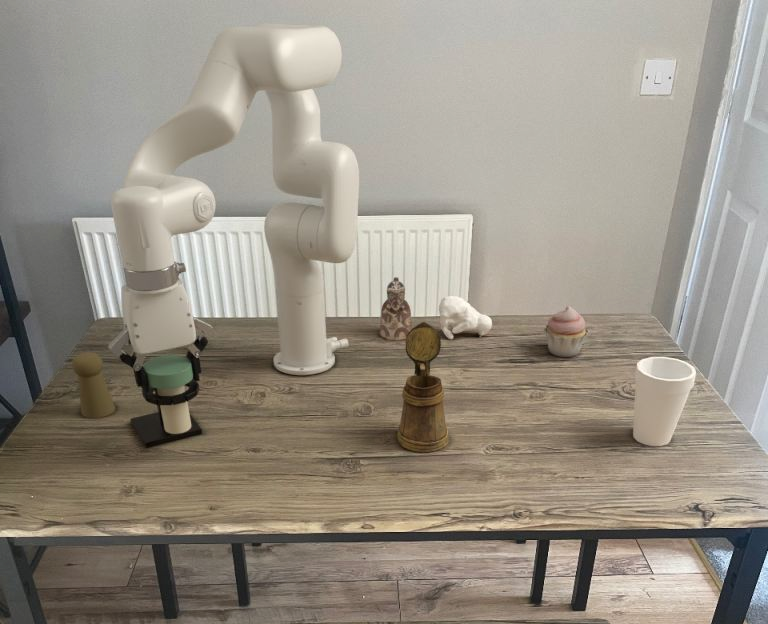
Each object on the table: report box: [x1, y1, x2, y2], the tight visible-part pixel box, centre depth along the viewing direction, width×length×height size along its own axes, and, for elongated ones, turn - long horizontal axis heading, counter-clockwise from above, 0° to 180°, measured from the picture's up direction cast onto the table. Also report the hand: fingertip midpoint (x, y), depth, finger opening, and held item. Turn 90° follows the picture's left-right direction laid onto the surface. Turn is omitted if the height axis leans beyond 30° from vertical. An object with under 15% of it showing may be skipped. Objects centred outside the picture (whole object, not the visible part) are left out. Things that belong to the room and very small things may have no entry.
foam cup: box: [632, 356, 697, 447], centre depth 136 cm, size 10×9×13 cm
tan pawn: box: [71, 351, 116, 419], centre depth 146 cm, size 6×6×11 cm
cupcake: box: [542, 305, 590, 358], centre depth 167 cm, size 9×9×10 cm
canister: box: [142, 354, 193, 434], centre depth 131 cm, size 8×8×11 cm
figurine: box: [378, 276, 413, 341], centre depth 174 cm, size 7×7×12 cm
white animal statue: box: [438, 295, 493, 340], centre depth 175 cm, size 6×8×12 cm
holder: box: [129, 378, 203, 449], centre depth 137 cm, size 10×18×12 cm, turn 29°
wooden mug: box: [397, 321, 450, 453], centre depth 136 cm, size 9×14×18 cm, turn 179°
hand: (170, 383), depth 129 cm, fingers closed on canister, 7 cm apart
